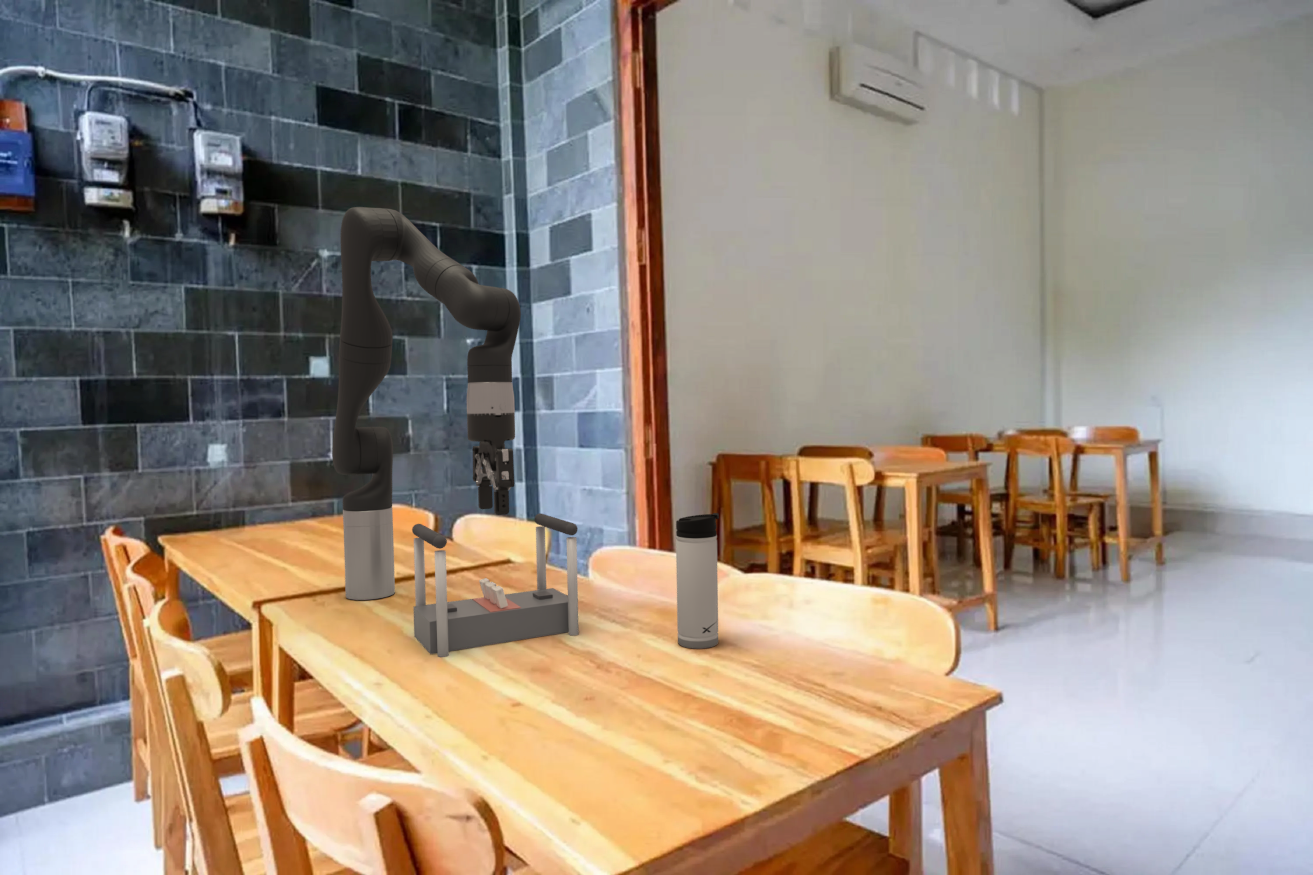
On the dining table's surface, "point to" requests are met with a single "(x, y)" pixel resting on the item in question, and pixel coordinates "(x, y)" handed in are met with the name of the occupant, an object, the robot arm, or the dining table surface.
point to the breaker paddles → (493, 593)
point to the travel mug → (697, 581)
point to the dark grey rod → (556, 524)
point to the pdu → (493, 607)
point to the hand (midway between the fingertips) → (493, 511)
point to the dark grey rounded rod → (429, 536)
